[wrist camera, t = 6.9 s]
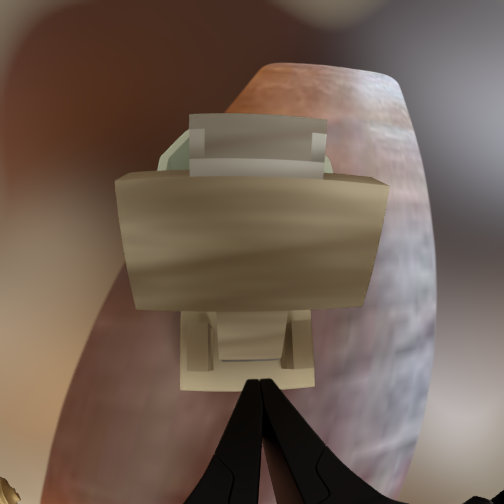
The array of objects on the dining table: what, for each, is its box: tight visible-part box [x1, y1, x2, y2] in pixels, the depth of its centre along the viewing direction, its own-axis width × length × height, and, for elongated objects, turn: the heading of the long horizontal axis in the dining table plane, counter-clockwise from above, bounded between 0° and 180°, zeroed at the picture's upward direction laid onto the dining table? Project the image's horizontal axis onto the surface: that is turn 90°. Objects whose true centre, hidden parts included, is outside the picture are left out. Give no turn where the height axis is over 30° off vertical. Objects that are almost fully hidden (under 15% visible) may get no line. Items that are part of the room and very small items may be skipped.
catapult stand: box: [180, 310, 315, 391], centre depth 15 cm, size 5×8×6 cm, turn 91°
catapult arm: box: [115, 113, 389, 362], centre depth 13 cm, size 5×10×11 cm
